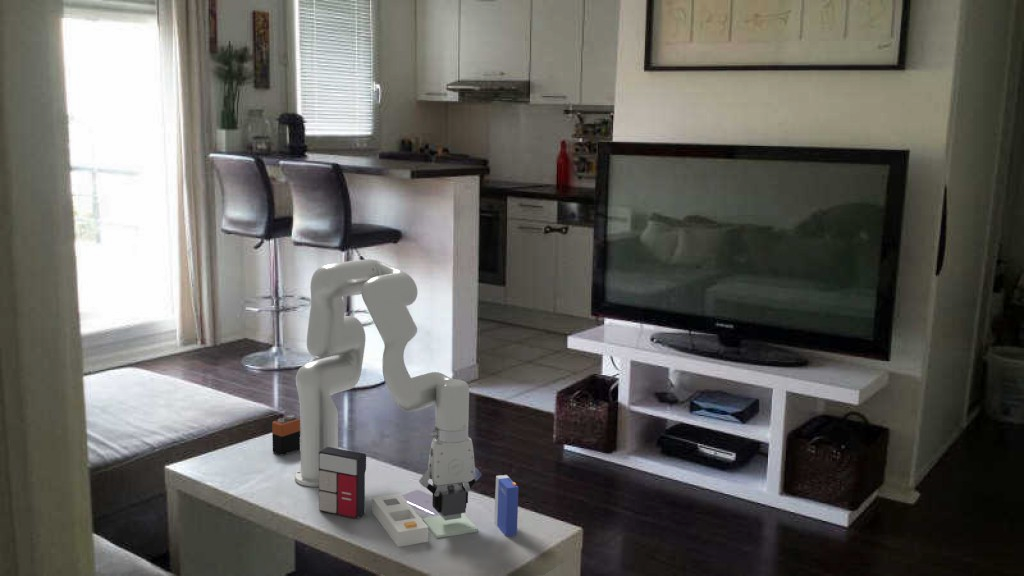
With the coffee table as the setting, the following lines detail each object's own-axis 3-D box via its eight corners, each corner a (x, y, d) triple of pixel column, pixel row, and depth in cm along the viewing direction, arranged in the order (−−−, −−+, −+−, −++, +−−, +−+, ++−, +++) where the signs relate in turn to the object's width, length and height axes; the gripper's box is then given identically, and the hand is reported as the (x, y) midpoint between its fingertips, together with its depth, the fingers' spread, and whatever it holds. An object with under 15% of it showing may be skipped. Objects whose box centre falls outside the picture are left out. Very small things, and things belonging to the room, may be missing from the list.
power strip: (372, 511, 219) (372, 495, 218) (400, 507, 222) (400, 491, 221) (397, 546, 201) (398, 529, 200) (427, 541, 204) (428, 524, 203)
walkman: (517, 535, 209) (518, 485, 207) (505, 536, 208) (507, 486, 206) (505, 521, 216) (506, 473, 214) (494, 522, 215) (495, 474, 213)
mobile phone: (418, 488, 232) (459, 505, 222) (418, 491, 233) (458, 509, 223) (395, 496, 227) (436, 514, 217) (395, 499, 227) (436, 518, 217)
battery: (301, 449, 259) (300, 415, 257) (282, 456, 253) (281, 421, 251) (290, 446, 261) (290, 412, 259) (271, 452, 256) (271, 418, 254)
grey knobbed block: (434, 512, 213) (435, 482, 212) (456, 509, 216) (457, 479, 214) (443, 522, 208) (443, 491, 207) (465, 518, 211) (466, 488, 209)
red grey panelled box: (316, 511, 218) (316, 452, 215) (326, 505, 222) (326, 446, 219) (356, 520, 214) (357, 459, 211) (366, 513, 218) (366, 453, 215)
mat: (422, 520, 215) (422, 518, 215) (461, 514, 219) (461, 512, 219) (436, 538, 206) (437, 535, 206) (477, 531, 210) (477, 528, 210)
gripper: (421, 443, 202) (420, 520, 205) (492, 434, 209) (490, 509, 212) (410, 432, 208) (409, 507, 212) (479, 424, 216) (478, 497, 219)
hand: (450, 507), depth 212 cm, fingers closed on grey knobbed block, 5 cm apart
